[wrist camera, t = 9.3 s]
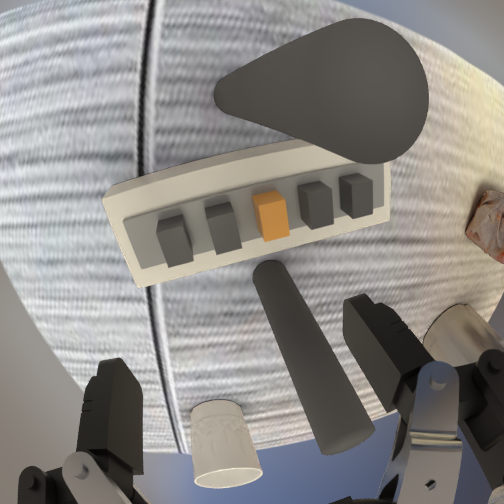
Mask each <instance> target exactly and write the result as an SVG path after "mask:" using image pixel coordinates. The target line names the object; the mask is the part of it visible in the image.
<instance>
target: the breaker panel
mask: <svg viewBox="0 0 504 504" xmlns="http://www.w3.org/2000/svg"><path fill="white" fill-rule="evenodd" d="M390 194H391V170H390V161H389V162H386V163H382V164H373V165H371V164H361V163H357V162H354V161H351V160H348V159H346V158H344V157H341V156H339V155H337V154H335V153H332V152H330V151H328V150H325V149H323V148H320V147H318V146H316V145H313V144H311V143H308V142H306V141H303V140H301V139H294V140H288V141H282V142H277V143H272V144H267V145H262V146H257V147H252V148H247V149H243V150H238V151H234V152H229V153H225V154H221V155H217V156H213V157H209V158H205V159H201V160H197V161H193V162H189V163H185V164H182V165H178V166H175V167H171V168H168V169H164V170H161V171H157V172H154V173H151V174H147V175H144V176H141V177H138V178H134V179H131V180H128V181H125V182H122V183H119V184H116V185H113V186H111V187H110V189H109V190H108V191H107V193H106V194H105V195H104V197H103V198H102V199H101V200H102V203H103V205H104V208H105V211H106V213H107V216H108V219H109V221H110V224H111V227H112V229H113V232H114V234H115V237H116V239H117V242H118V244H119V246H120V249H121V251H122V254H123V256H124V258H125V261H126V263H127V265H128V267H129V270H130V272H131V274H132V276H133V279H134V281H135V283H136V285H137V287H138V289H139V288H142V287H146V286H150V285H154V284H158V283H161V282H165V281H169V280H173V279H177V278H180V277H184V276H188V275H192V274H195V273H199V272H203V271H207V270H210V269H214V268H218V267H222V266H225V265H229V264H233V263H237V262H240V261H244V260H248V259H251V258H255V257H259V256H263V255H266V254H270V253H274V252H277V251H281V250H285V249H288V248H292V247H296V246H300V245H303V244H307V243H311V242H314V241H318V240H322V239H325V238H329V237H333V236H336V235H340V234H344V233H347V232H351V231H354V230H358V229H362V228H365V227H369V226H373V225H376V224H380V223H383V222H387V221H390Z"/></svg>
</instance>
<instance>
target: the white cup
mask: <svg viewBox="0 0 504 504" xmlns="http://www.w3.org/2000/svg"><path fill="white" fill-rule="evenodd" d="M190 419H191V449H192V460H193V472H194V482H195V483H196V484H197V485H199V486H202V487H207V488H227V487H234V486H239V485H243V484H247V483H250V482H252V481H255V480H256V479H258V478H259V477H261V476H262V474H263V472H262V468H261V466H260V463H259V460H258V457H257V453H256V450H255V447H254V444H253V441H252V439H251V436H250V433H249V430H248V427H247V425H246V423H245V420H244V417H243V413H242V410H241V407H240V406H239V405H237V404H236V403H235V402H231V401H227V400H212V401H208V402H204V403H201V404H199V405H198V406H196V407H194V408H193V410H192V412H191V413H190Z"/></svg>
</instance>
